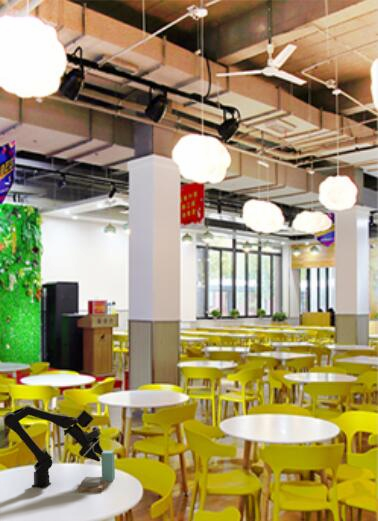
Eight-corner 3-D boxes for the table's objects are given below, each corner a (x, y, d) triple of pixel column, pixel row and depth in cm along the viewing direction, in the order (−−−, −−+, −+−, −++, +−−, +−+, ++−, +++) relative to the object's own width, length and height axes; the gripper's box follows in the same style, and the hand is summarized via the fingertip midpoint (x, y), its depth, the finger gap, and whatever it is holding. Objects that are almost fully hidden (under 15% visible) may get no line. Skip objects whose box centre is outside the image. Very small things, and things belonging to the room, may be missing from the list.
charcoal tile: (81, 486, 260) (80, 482, 260) (85, 481, 268) (85, 477, 268) (98, 486, 259) (98, 482, 259) (102, 481, 267) (102, 476, 267)
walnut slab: (77, 493, 258) (77, 488, 258) (84, 485, 269) (84, 480, 269) (101, 493, 257) (101, 487, 257) (107, 485, 268) (107, 480, 268)
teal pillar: (102, 481, 273) (101, 453, 273) (104, 478, 278) (103, 450, 278) (112, 481, 272) (111, 453, 273) (114, 478, 277) (114, 450, 278)
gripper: (85, 427, 268) (109, 450, 267) (95, 418, 287) (117, 441, 285) (68, 444, 268) (92, 468, 267) (79, 435, 287) (102, 457, 285)
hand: (102, 458), depth 276 cm, fingers open, 9 cm apart
